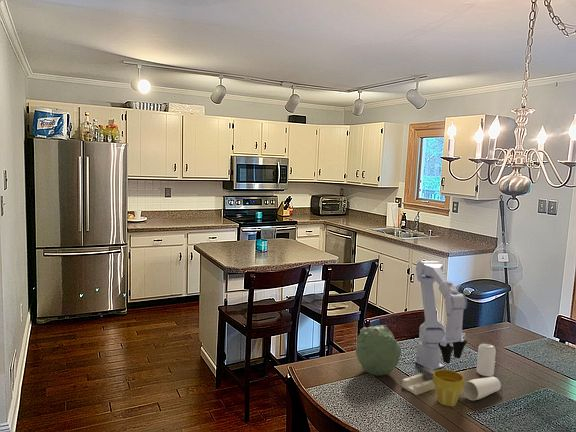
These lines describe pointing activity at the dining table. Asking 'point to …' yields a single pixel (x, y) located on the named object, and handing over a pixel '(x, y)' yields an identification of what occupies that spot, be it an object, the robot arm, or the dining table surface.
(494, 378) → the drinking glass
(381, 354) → the cabbage
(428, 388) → the slider console
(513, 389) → the dining table surface
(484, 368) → the can
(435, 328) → the robot arm
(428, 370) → the fader tab
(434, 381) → the plant pot
